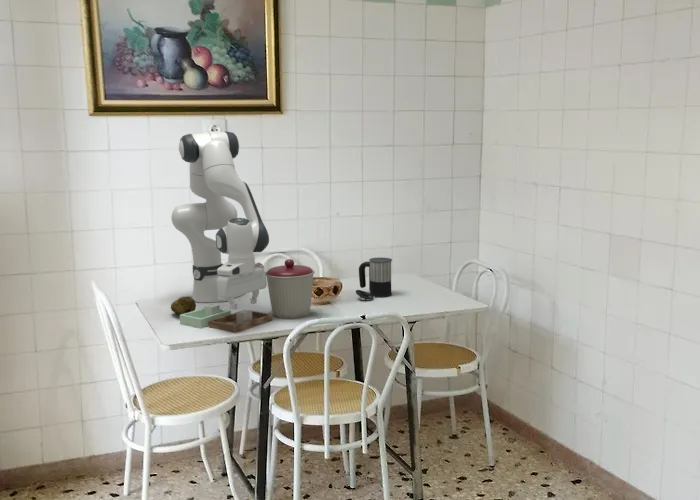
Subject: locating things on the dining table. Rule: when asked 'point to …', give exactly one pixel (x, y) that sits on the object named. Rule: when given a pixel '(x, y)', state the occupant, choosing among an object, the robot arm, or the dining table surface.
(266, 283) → the robot arm
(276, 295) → the canister
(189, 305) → the potato
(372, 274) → the milk frother
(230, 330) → the walnut tray
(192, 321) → the green bin
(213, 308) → the stone
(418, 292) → the dining table surface
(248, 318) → the stone
